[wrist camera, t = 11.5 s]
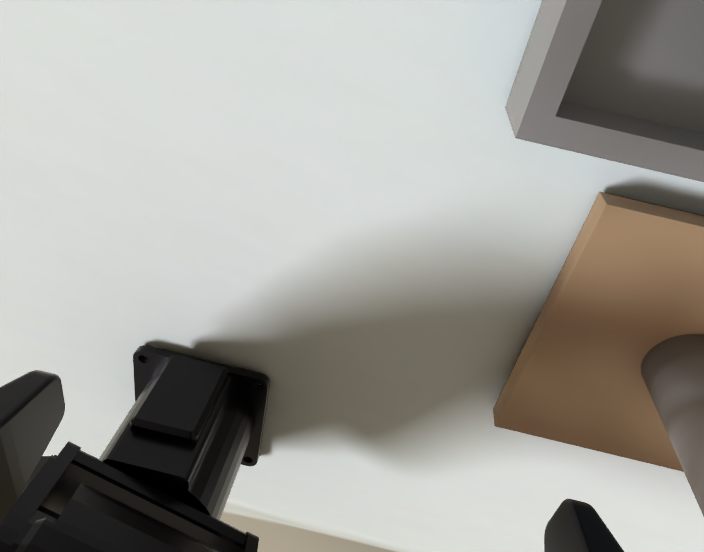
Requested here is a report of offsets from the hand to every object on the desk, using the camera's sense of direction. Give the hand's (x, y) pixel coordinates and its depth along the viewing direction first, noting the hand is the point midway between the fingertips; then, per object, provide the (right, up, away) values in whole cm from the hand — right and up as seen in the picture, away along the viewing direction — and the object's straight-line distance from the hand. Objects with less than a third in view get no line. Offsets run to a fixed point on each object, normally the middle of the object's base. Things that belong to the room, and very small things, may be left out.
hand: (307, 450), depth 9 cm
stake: (+14, 0, +12) cm, 18 cm away
